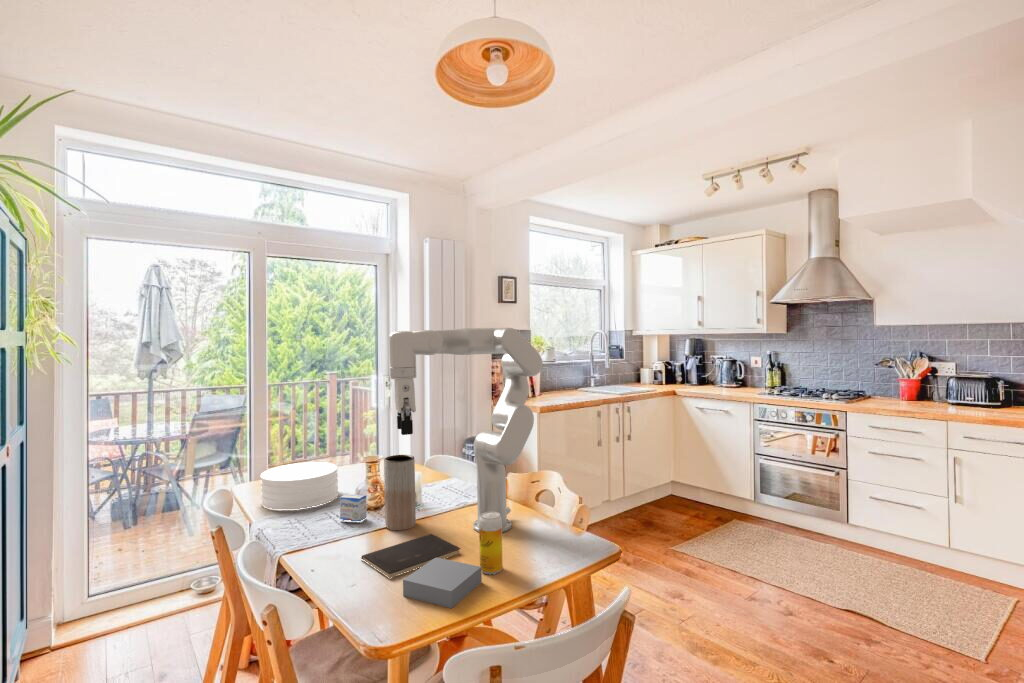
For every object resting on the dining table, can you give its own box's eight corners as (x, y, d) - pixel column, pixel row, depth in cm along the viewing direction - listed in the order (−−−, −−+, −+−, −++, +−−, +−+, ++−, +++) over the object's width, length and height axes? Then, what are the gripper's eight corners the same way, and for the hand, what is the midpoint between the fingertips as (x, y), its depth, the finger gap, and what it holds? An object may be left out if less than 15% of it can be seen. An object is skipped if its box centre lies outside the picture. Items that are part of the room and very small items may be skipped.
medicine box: (339, 522, 179) (339, 497, 179) (346, 517, 184) (346, 493, 184) (360, 524, 178) (359, 498, 177) (367, 519, 182) (366, 494, 182)
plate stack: (261, 495, 213) (261, 467, 213) (333, 485, 225) (333, 459, 225) (260, 516, 188) (260, 484, 187) (342, 504, 199) (341, 474, 199)
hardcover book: (460, 555, 152) (460, 547, 152) (389, 581, 136) (389, 573, 136) (430, 540, 164) (429, 533, 163) (361, 562, 148) (361, 554, 148)
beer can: (477, 567, 142) (476, 512, 142) (498, 563, 144) (497, 509, 144) (483, 577, 137) (482, 520, 136) (505, 573, 139) (504, 516, 139)
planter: (393, 533, 168) (392, 463, 168) (380, 525, 176) (378, 457, 176) (421, 525, 175) (419, 458, 174) (406, 518, 182) (405, 453, 182)
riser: (436, 572, 140) (435, 557, 140) (481, 582, 134) (481, 566, 134) (403, 595, 128) (402, 579, 127) (451, 608, 121) (451, 591, 121)
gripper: (420, 374, 146) (422, 435, 147) (412, 371, 163) (413, 425, 163) (393, 376, 144) (395, 437, 144) (387, 372, 160) (388, 427, 161)
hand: (404, 431), depth 154 cm, fingers open, 9 cm apart
